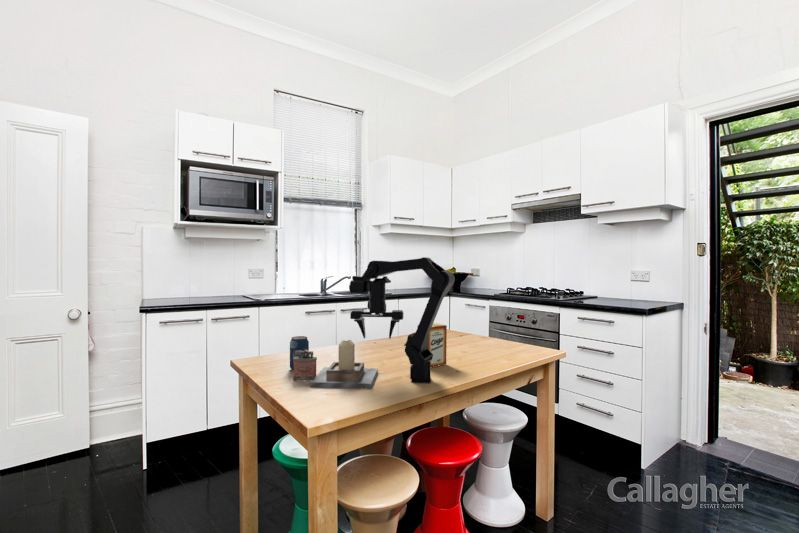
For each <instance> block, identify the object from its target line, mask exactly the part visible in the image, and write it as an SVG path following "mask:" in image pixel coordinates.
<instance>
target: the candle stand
mask: <svg viewBox="0 0 799 533" xmlns="http://www.w3.org/2000/svg"><path fill="white" fill-rule="evenodd" d="M378 373H379V368H373V367H371V368H368V367H367V368H366V367H365V362H359V361H358V362H355V368H354V370H339V361H333V362H332V363H331V364H330V366H329V367H328V366H326V367H325V366H324V367H323V368H322V369H321V370H319V372H318V373H316V376H315V377H314V378H313V380H310V381H309V387H310V388H338V387H339V388H341V387H342V388H345V389H348V388H349V389H372V387H373V386H374V383H373V382H375V380H376V377H377V376H378ZM376 375H377V376H376Z"/></svg>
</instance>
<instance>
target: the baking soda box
mask: <svg viewBox="0 0 799 533" xmlns="http://www.w3.org/2000/svg"><path fill="white" fill-rule="evenodd" d="M418 326H419V324H418V325H417V327H418ZM447 328H448V326H447V325H446V324H442V323H437V322H436V323H434V322H433V325H432V327H431V330H430V332H429V336H428V346H427V348H428V349H429V350H430V352H431V353H432V354H433V358H432V360H431V361H430V367H432V368H434V367H433V366H437V367H439V366H438V365H442V366H444V365H443V364H446V365H447Z"/></svg>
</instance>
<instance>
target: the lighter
mask: <svg viewBox="0 0 799 533" xmlns="http://www.w3.org/2000/svg"><path fill="white" fill-rule="evenodd" d="M295 355H299V357H294V358H293V361H294V371H293V377H292V380H293V381H297V380H310V381H312V380H313V378H314V377H315V376H316V375H317V360H318V358H317V357H316V356H314V351H312V350H309V351H308V350H305V351H296V352H295ZM301 355H303V356H302V357H301Z"/></svg>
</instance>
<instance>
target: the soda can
mask: <svg viewBox="0 0 799 533" xmlns="http://www.w3.org/2000/svg"><path fill="white" fill-rule="evenodd" d="M309 345H310V344H309V340H308V336H304V335H303V336H301V335H300V336H299V335H298V336H297V335H295V336H292V337H291V340H290V342H289V368H290V370H291V371H292V370H293V371H292V372H294V361H293V358H294V357H299V355H295V352H296V351H305V350H308V351H310V350H309V348H310V346H309ZM302 356H303V355H301V357H302Z"/></svg>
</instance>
